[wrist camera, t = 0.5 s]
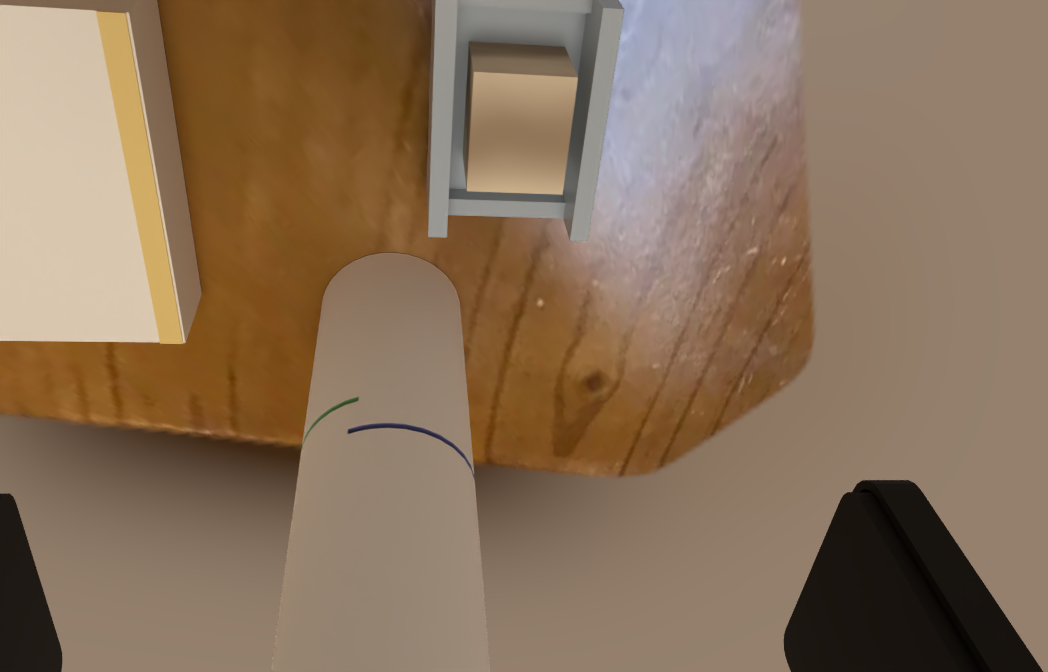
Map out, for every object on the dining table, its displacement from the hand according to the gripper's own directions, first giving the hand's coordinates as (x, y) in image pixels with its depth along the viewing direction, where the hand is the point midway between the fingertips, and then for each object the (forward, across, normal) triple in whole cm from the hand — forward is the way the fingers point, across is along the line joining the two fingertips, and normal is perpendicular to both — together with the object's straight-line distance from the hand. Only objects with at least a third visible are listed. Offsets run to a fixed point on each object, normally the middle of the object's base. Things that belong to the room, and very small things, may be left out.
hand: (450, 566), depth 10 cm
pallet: (+31, -4, +4) cm, 32 cm away
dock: (+31, +16, +9) cm, 36 cm away
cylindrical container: (+32, +1, +17) cm, 36 cm away
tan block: (+29, -4, +5) cm, 30 cm away
